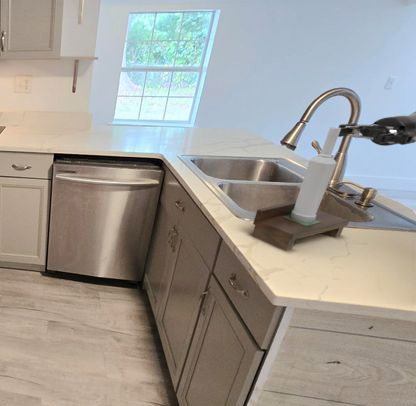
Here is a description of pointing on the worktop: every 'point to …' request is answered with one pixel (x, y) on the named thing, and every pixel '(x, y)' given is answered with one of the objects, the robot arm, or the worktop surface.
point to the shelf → (292, 225)
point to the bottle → (316, 180)
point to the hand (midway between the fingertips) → (358, 135)
